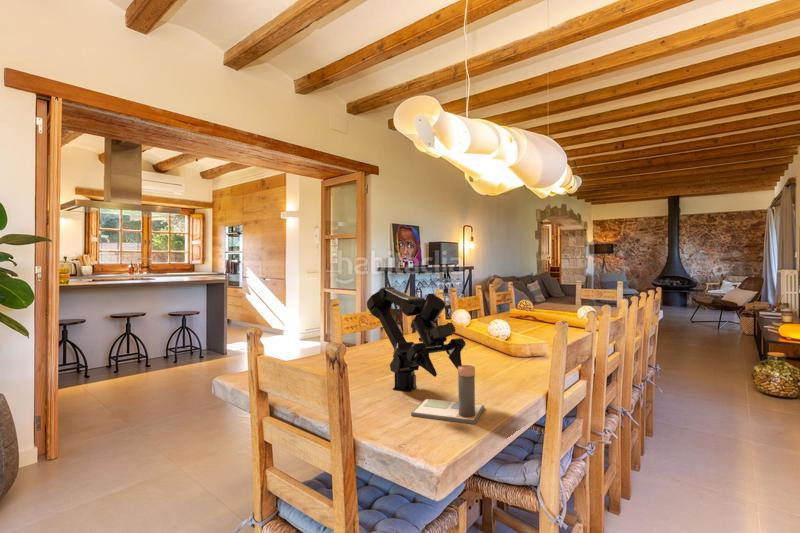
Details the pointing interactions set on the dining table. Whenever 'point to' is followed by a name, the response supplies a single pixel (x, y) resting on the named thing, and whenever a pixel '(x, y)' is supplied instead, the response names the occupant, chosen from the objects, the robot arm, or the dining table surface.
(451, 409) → the picture board
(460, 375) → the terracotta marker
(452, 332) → the robot arm
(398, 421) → the dining table surface
